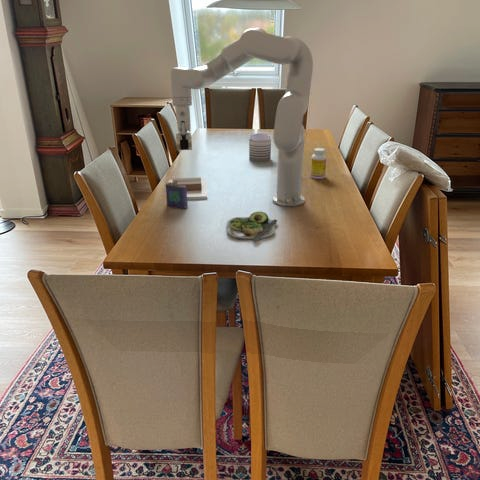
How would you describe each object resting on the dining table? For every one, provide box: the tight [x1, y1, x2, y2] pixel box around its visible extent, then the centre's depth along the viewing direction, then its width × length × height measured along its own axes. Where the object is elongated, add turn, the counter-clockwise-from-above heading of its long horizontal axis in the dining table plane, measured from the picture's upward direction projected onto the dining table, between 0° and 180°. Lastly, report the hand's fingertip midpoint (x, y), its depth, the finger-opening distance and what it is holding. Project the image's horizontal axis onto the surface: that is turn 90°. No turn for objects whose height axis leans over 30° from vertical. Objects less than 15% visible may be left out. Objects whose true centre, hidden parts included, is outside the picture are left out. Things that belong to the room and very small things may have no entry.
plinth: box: [171, 176, 202, 191], centre depth 195 cm, size 8×12×3 cm, turn 96°
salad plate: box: [226, 211, 278, 242], centre depth 158 cm, size 19×18×5 cm
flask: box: [165, 180, 189, 210], centre depth 177 cm, size 9×3×11 cm, turn 63°
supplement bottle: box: [309, 147, 327, 180], centre depth 209 cm, size 7×7×13 cm
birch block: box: [175, 131, 193, 151], centre depth 187 cm, size 4×6×6 cm
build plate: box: [168, 178, 208, 201], centre depth 196 cm, size 22×16×1 cm
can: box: [248, 133, 273, 164], centre depth 234 cm, size 11×11×12 cm
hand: (184, 147), depth 188 cm, fingers closed on birch block, 4 cm apart
